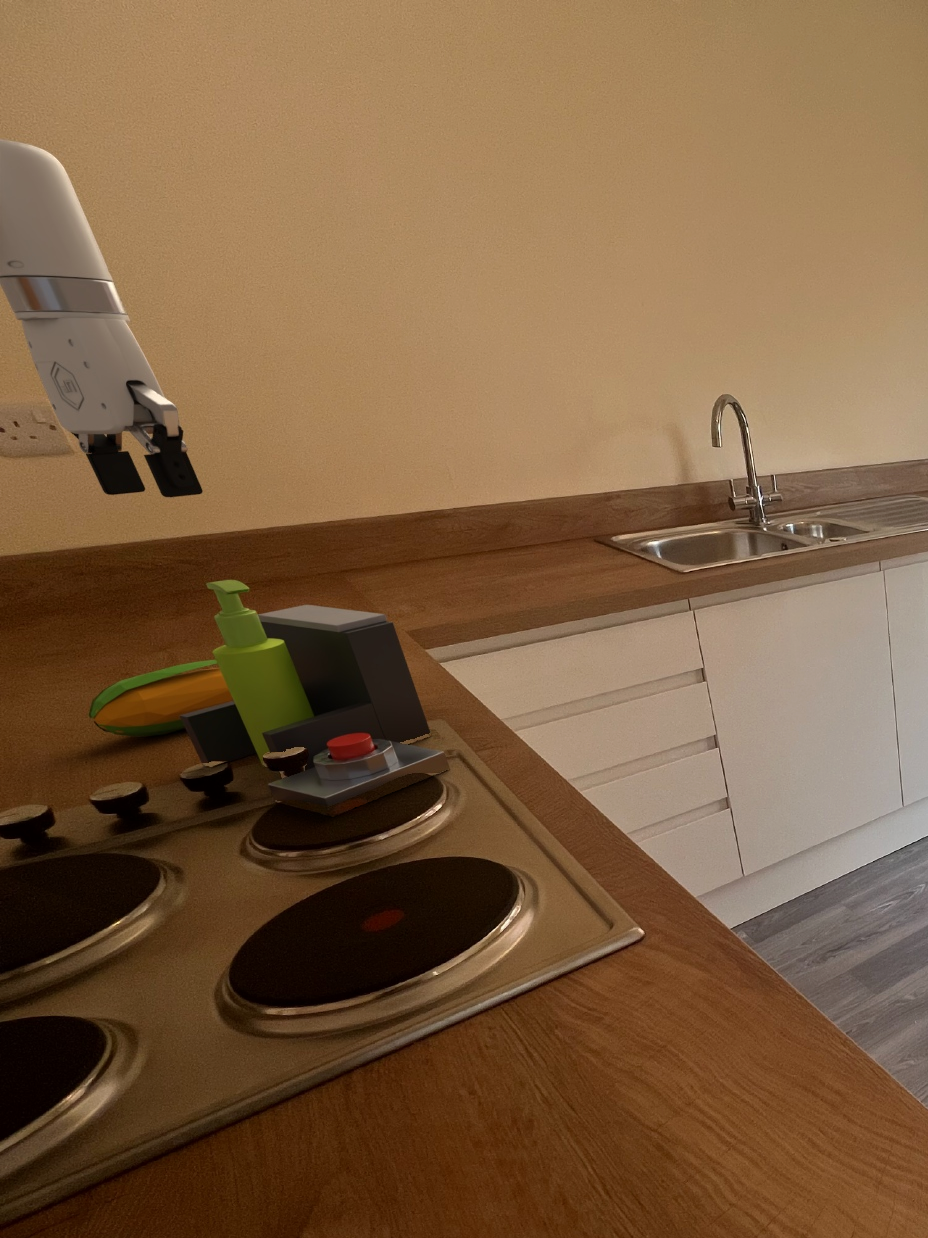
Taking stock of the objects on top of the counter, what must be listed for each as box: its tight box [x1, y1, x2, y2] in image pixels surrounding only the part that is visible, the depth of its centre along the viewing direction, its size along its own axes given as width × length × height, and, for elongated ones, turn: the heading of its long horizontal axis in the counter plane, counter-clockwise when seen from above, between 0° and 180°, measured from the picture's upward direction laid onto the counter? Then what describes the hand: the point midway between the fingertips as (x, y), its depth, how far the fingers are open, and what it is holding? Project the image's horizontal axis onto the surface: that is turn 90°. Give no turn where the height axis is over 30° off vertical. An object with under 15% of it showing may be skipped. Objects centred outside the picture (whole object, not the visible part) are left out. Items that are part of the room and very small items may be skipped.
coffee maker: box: [180, 604, 431, 770], centre depth 94 cm, size 15×16×15 cm
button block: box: [267, 739, 451, 806], centre depth 87 cm, size 12×9×4 cm
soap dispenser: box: [205, 579, 315, 766], centre depth 91 cm, size 6×7×20 cm
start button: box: [327, 733, 376, 760], centre depth 86 cm, size 4×4×2 cm
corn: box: [88, 659, 234, 738], centre depth 105 cm, size 7×8×20 cm
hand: (154, 494), depth 86 cm, fingers open, 9 cm apart
